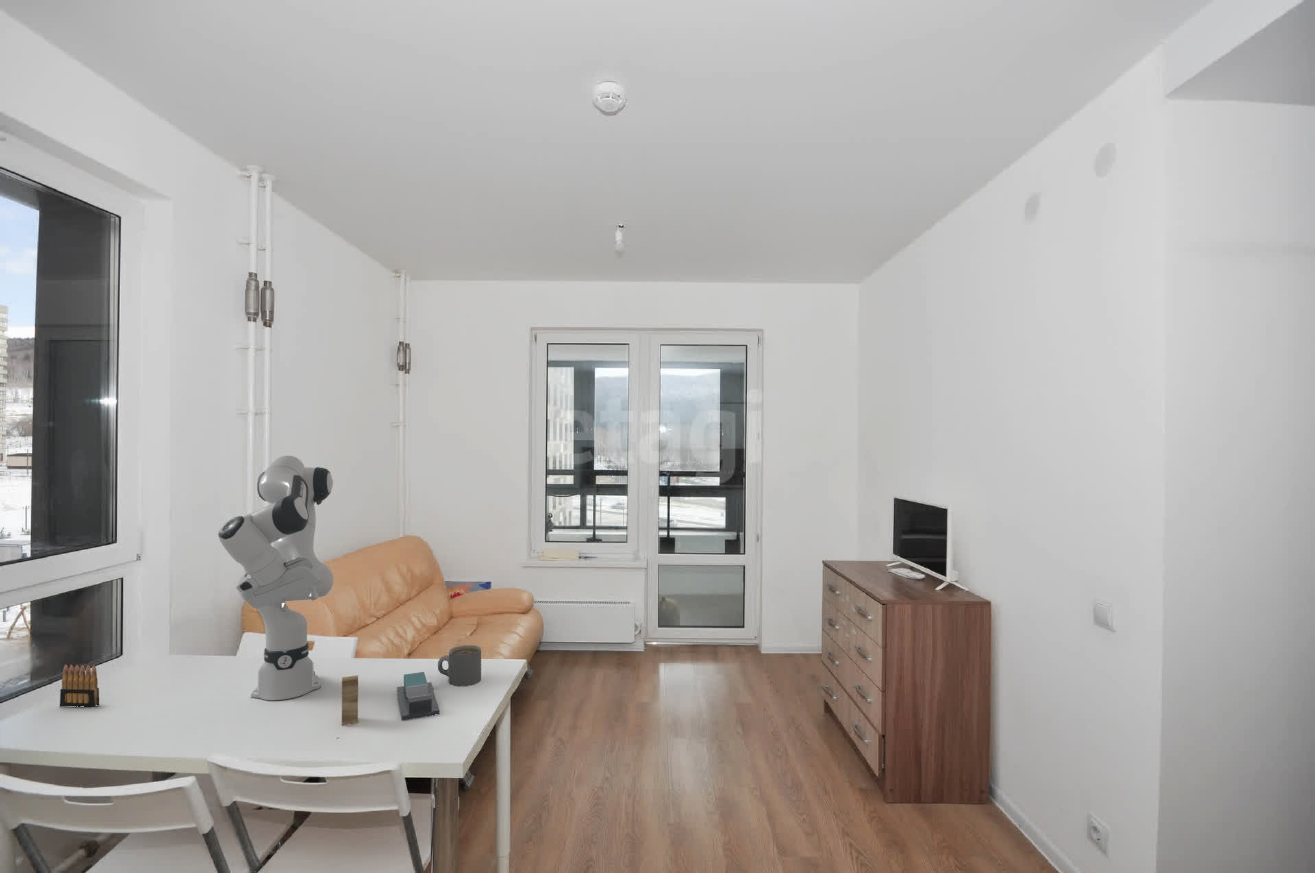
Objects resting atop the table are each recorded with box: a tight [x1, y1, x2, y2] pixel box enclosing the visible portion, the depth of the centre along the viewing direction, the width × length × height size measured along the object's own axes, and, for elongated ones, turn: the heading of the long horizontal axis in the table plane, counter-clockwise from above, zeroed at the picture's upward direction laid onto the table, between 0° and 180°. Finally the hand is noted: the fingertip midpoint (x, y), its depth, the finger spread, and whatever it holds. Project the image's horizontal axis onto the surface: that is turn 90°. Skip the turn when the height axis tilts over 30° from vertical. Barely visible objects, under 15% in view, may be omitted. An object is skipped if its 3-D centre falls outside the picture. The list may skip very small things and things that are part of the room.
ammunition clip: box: [59, 664, 100, 708], centre depth 193 cm, size 11×2×12 cm, turn 86°
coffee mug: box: [437, 644, 482, 688], centre depth 213 cm, size 13×10×10 cm
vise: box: [396, 681, 441, 721], centre depth 196 cm, size 24×10×4 cm, turn 24°
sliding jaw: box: [403, 671, 428, 698], centre depth 202 cm, size 12×6×3 cm, turn 24°
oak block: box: [341, 675, 359, 726], centre depth 182 cm, size 4×4×12 cm
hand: (300, 604), depth 184 cm, fingers open, 8 cm apart
